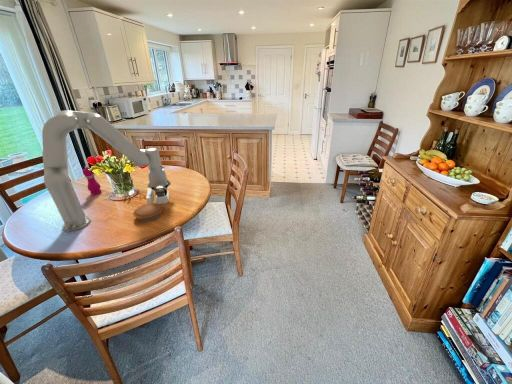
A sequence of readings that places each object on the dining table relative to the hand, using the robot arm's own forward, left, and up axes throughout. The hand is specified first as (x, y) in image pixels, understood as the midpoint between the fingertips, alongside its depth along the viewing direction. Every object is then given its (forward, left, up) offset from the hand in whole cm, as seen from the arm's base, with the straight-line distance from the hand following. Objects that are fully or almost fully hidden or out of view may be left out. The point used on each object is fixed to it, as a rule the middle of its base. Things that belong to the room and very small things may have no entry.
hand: (161, 194), depth 152 cm
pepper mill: (+23, +43, -2) cm, 49 cm away
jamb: (0, +2, -2) cm, 3 cm away
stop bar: (0, 0, -1) cm, 1 cm away
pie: (-20, +6, -2) cm, 21 cm away
